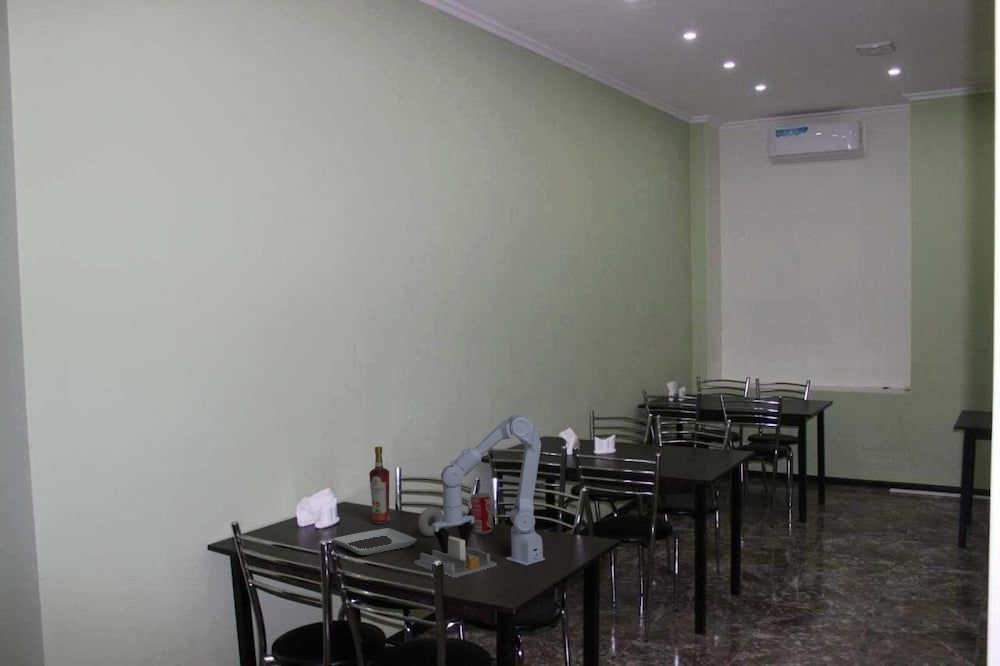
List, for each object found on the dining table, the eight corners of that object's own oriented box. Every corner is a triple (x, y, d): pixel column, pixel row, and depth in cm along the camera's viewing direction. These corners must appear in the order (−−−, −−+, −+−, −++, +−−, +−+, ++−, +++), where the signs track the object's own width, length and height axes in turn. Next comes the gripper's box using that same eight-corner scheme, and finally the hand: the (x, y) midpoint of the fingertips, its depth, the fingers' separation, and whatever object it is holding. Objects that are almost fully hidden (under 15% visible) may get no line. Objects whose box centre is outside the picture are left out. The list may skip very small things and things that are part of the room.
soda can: (490, 535, 291) (488, 497, 290) (469, 534, 292) (468, 497, 292) (494, 529, 298) (493, 492, 297) (474, 529, 299) (473, 492, 299)
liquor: (368, 525, 310) (365, 448, 310) (375, 520, 317) (372, 445, 317) (387, 525, 309) (384, 448, 308) (394, 520, 316) (391, 445, 315)
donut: (422, 539, 288) (421, 510, 287) (416, 538, 290) (415, 508, 290) (446, 534, 294) (445, 505, 294) (440, 532, 297) (439, 503, 296)
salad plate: (388, 536, 296) (387, 526, 296) (418, 548, 278) (418, 538, 278) (331, 547, 284) (331, 537, 284) (359, 561, 266) (358, 550, 266)
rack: (496, 566, 255) (496, 552, 255) (453, 578, 244) (453, 564, 244) (456, 553, 270) (455, 540, 270) (414, 564, 260) (413, 551, 260)
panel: (465, 563, 255) (465, 540, 255) (460, 564, 253) (459, 541, 253) (449, 558, 261) (448, 535, 261) (444, 559, 260) (443, 536, 259)
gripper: (463, 499, 265) (465, 543, 265) (425, 507, 255) (427, 553, 256) (477, 503, 259) (479, 547, 260) (439, 511, 250) (441, 557, 250)
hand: (454, 550), depth 257 cm, fingers open, 7 cm apart
